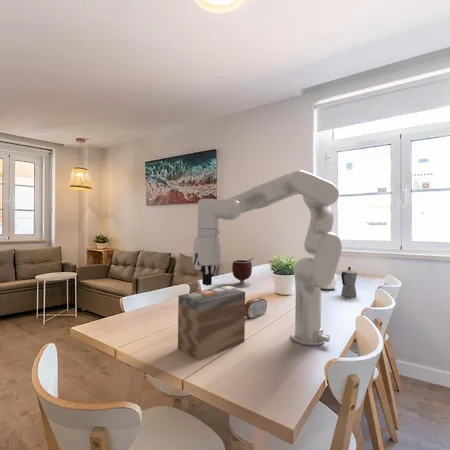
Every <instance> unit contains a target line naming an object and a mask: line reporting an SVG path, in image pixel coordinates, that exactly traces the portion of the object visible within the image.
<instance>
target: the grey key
mask: <svg viewBox="0 0 450 450" xmlns="http://www.w3.org/2000/svg"><path fill="white" fill-rule="evenodd" d="M215 288H216V289H212V288H210V289H211V291H212V292H215V294H222V293H226V290H225V289H221V288H217V287H215Z"/></svg>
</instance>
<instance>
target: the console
mask: <svg viewBox="0 0 450 450" xmlns="http://www.w3.org/2000/svg"><path fill="white" fill-rule="evenodd" d="M222 287H225V286H218V287H213V288H209V289H208V288H207V289H202V290H199V291H195V292H193V291H192V292H189V293H185V294H179V295H178V298H177V299H178V300H177V302H178V304H177V307H178V308H177V312H178V313H177V316H178V317H177V321H178V322H177V350H179V351H181V352H183V353H185V354H186V355H188V356H190V357H192V358H194V359H196V360H197V361H200V362H201V360H205V359H206V358H209V357H212V356H213V355H217V354H218V353H221V352H223V351H225V350H229V349H231V348H233V347H235V346H238V345H240V344H242V343H245V339H246V338H245V335H246V333H245V331H246V329H245V327H246V326H245V325H246V322H245V321H246V320H245V319H246V317H245V304H246V291H244V290H239V289H236V290H235V291H231V292H227V291H226V293H222V294H215V295H213V296H209V297H205V296H203V298H200V299H196V300H193V299H190V298H187V294H192V293H199V294H200V292H202V291H207V290H209V291H211V289H216V288H221V289H222Z"/></svg>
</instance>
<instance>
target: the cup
mask: <svg viewBox="0 0 450 450" xmlns="http://www.w3.org/2000/svg"><path fill="white" fill-rule="evenodd" d="M337 281H338V276H337V274H336V273H335V276H334V279H333V281H332V282H331V284H330V285H328V286H327V287H324V288H321V290H322V289H323V290H333V289H335V288H336V286H337V284H338V283H337Z"/></svg>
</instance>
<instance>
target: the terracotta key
mask: <svg viewBox="0 0 450 450" xmlns="http://www.w3.org/2000/svg"><path fill="white" fill-rule="evenodd" d="M206 290H207V291H203V290H201V291H202V292H200V294H202V295H203V296H205V297H209V296H213V295H215V292H212V291H209V290H208V289H206Z"/></svg>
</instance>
